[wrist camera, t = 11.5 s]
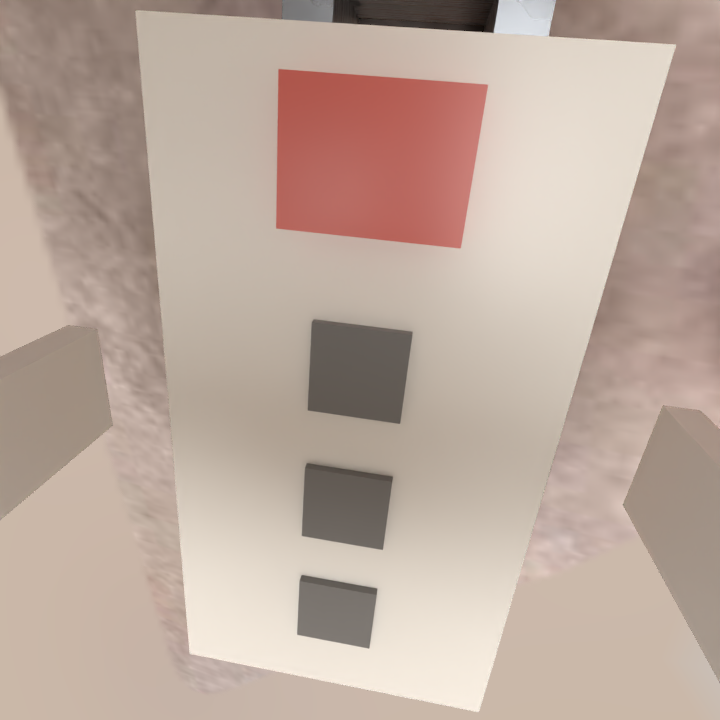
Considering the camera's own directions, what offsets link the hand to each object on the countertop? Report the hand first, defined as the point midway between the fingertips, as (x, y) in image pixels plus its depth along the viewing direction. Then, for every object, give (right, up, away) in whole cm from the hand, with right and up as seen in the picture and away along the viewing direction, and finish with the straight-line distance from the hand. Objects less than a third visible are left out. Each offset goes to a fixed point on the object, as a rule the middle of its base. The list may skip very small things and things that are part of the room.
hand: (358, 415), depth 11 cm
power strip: (+1, +2, +7) cm, 8 cm away
